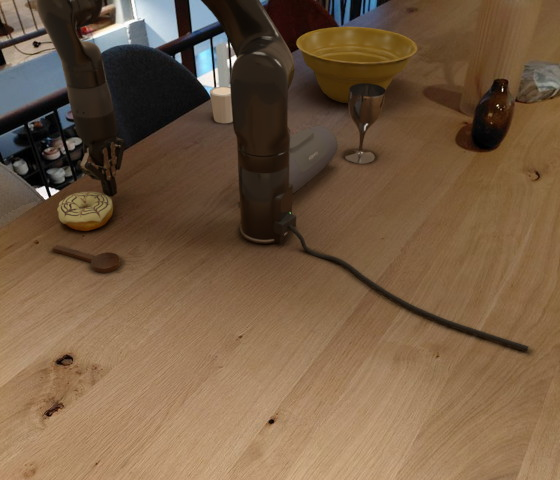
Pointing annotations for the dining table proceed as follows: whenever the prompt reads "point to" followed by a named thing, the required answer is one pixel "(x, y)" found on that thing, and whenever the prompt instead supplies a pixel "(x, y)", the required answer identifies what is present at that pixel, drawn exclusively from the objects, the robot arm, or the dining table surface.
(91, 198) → the decorated donut
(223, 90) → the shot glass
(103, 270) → the spoon
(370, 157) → the wine glass
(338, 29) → the planter bowl
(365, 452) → the dining table surface
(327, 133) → the bluetooth speaker
